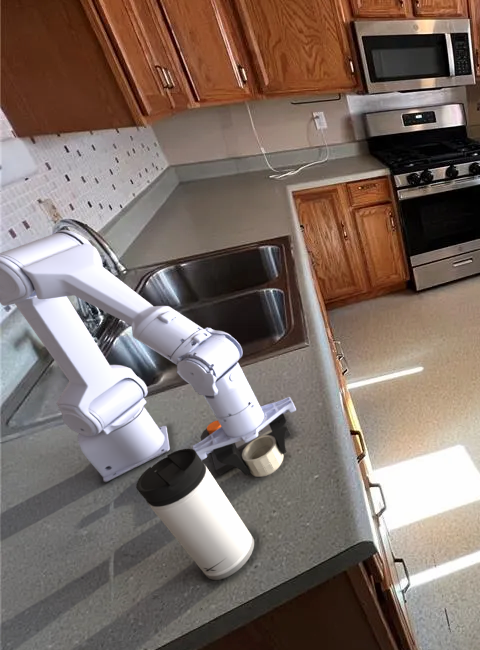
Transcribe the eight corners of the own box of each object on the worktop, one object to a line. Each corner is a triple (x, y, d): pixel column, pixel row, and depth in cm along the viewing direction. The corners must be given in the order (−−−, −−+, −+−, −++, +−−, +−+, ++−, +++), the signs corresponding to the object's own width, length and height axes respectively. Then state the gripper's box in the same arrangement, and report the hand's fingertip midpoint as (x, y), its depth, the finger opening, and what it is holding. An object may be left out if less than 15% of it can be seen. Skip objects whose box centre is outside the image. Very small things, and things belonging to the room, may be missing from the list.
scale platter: (237, 450, 73) (236, 447, 72) (229, 424, 78) (228, 422, 78) (285, 424, 77) (284, 422, 77) (274, 401, 82) (273, 399, 82)
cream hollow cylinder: (255, 484, 70) (245, 467, 68) (248, 464, 73) (239, 447, 71) (288, 465, 73) (279, 447, 70) (280, 447, 76) (271, 430, 74)
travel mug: (220, 591, 56) (146, 500, 46) (197, 565, 59) (123, 474, 49) (264, 548, 60) (205, 457, 51) (241, 526, 63) (181, 436, 54)
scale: (214, 478, 71) (207, 466, 70) (205, 441, 79) (198, 430, 77) (291, 435, 78) (285, 424, 77) (276, 405, 86) (271, 394, 84)
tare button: (211, 439, 76) (207, 432, 75) (209, 431, 77) (205, 425, 76) (226, 431, 77) (222, 425, 76) (224, 424, 79) (220, 418, 78)
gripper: (182, 445, 59) (222, 503, 65) (289, 392, 67) (314, 448, 73) (177, 418, 64) (214, 474, 70) (277, 371, 72) (302, 426, 78)
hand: (265, 459), depth 72 cm, fingers closed on cream hollow cylinder, 5 cm apart
